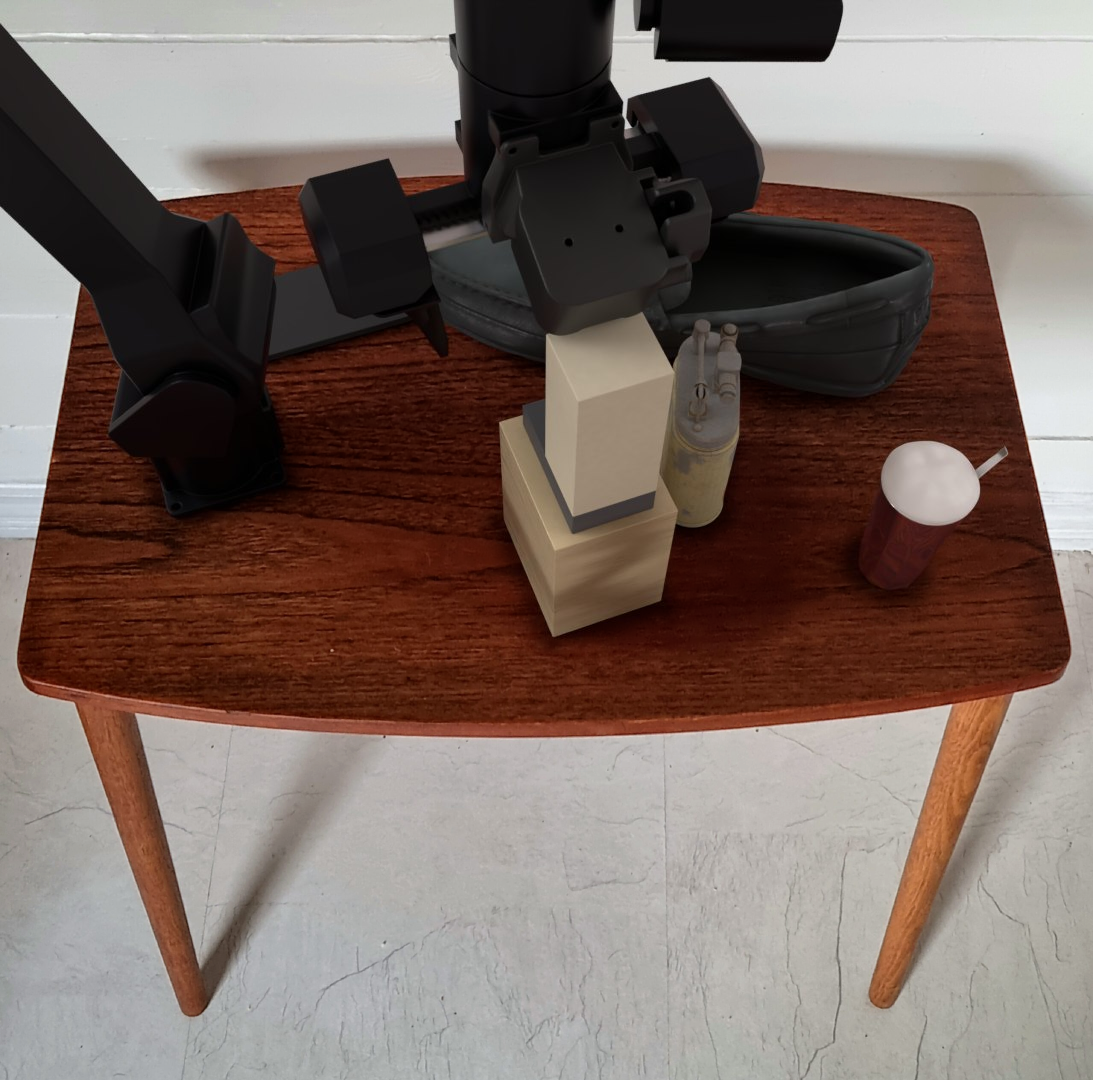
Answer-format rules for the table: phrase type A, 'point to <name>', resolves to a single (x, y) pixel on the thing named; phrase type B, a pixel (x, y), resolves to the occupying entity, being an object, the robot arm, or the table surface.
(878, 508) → the milkshake
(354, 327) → the shoe mat
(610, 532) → the stand
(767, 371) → the loafer
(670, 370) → the white block
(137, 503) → the table surface
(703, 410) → the lighter
